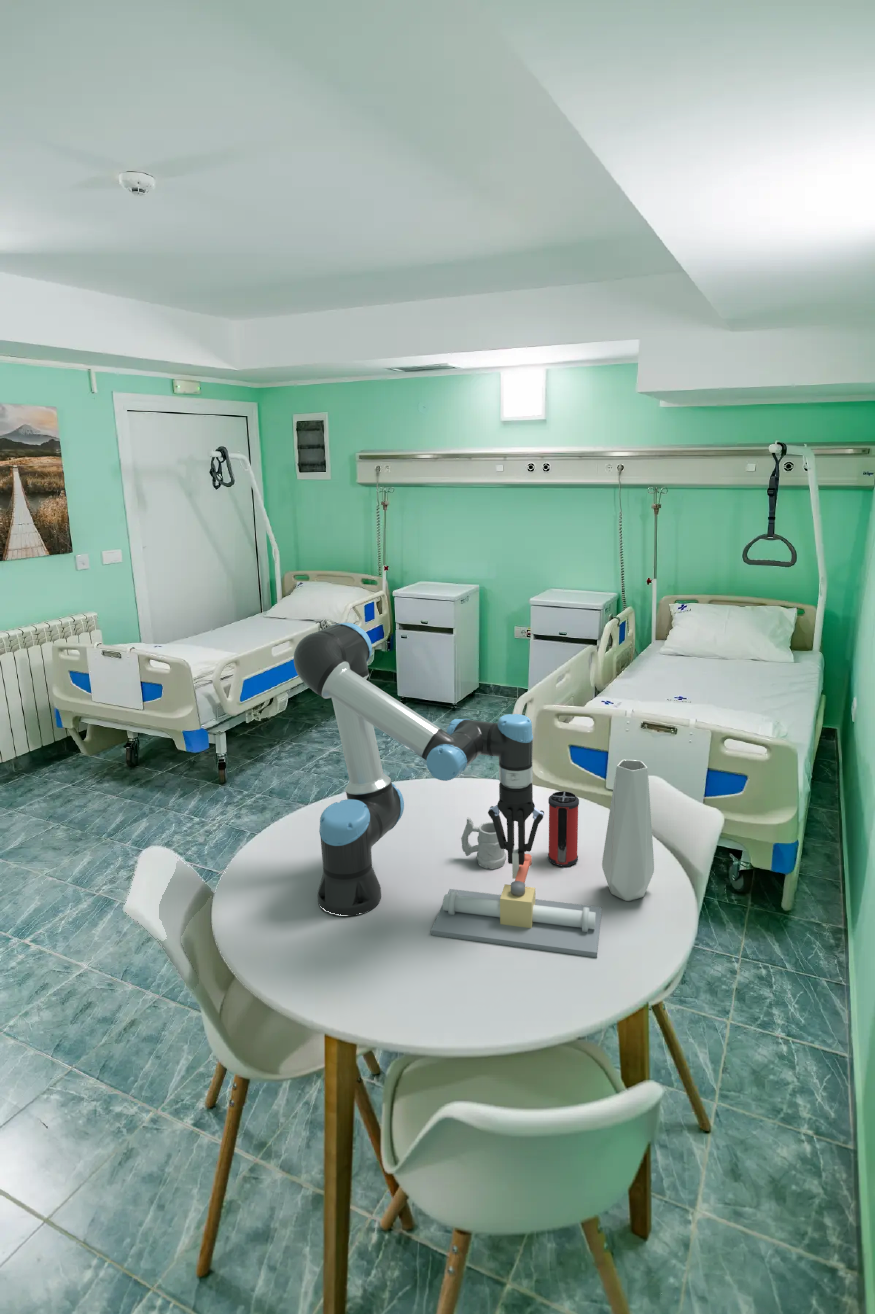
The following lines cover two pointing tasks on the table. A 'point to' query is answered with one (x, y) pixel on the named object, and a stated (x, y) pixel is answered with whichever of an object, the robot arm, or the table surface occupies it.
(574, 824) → the speaker
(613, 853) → the vase
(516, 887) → the lever
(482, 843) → the mug
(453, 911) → the grey base plate
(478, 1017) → the table surface
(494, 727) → the robot arm
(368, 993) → the table surface
